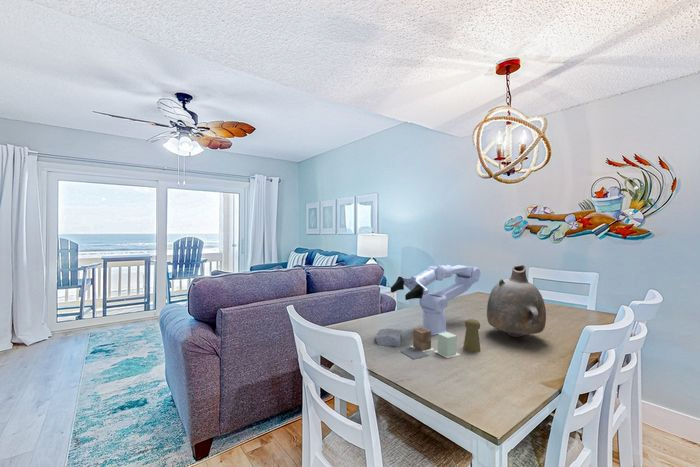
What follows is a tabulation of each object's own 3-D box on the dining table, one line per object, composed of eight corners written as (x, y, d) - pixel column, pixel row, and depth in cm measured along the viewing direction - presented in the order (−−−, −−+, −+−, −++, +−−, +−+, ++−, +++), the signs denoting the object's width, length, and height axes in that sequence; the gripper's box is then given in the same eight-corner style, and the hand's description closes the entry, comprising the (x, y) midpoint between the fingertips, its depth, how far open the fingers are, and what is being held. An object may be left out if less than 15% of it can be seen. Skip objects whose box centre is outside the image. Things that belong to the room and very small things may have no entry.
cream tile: (422, 343, 117) (422, 343, 117) (434, 349, 112) (434, 349, 112) (409, 346, 114) (409, 346, 114) (421, 353, 109) (421, 352, 109)
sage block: (446, 349, 112) (447, 331, 112) (456, 354, 108) (456, 335, 108) (437, 351, 110) (438, 333, 110) (447, 356, 106) (447, 337, 106)
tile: (446, 348, 113) (446, 348, 113) (460, 355, 108) (460, 354, 108) (433, 351, 110) (433, 351, 110) (447, 358, 104) (447, 358, 104)
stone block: (375, 350, 115) (402, 347, 113) (373, 337, 115) (399, 334, 113) (379, 340, 127) (403, 337, 125) (377, 328, 127) (401, 325, 125)
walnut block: (422, 344, 116) (422, 327, 116) (430, 348, 112) (431, 331, 112) (413, 346, 114) (413, 329, 114) (421, 351, 110) (421, 333, 110)
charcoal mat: (415, 348, 112) (415, 347, 112) (429, 356, 106) (429, 355, 106) (400, 352, 109) (400, 351, 109) (413, 360, 103) (413, 358, 103)
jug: (472, 331, 132) (474, 262, 132) (504, 324, 142) (506, 260, 141) (527, 352, 111) (529, 270, 110) (561, 343, 120) (563, 267, 120)
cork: (480, 347, 115) (480, 318, 114) (481, 353, 109) (482, 323, 109) (462, 345, 117) (463, 316, 116) (463, 351, 111) (464, 321, 111)
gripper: (407, 266, 130) (384, 278, 122) (435, 278, 119) (412, 291, 112) (407, 281, 133) (385, 293, 125) (435, 293, 122) (413, 308, 114)
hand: (398, 293), depth 118 cm, fingers open, 7 cm apart
